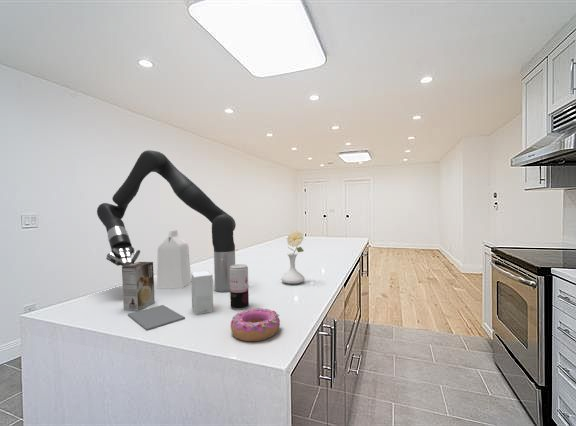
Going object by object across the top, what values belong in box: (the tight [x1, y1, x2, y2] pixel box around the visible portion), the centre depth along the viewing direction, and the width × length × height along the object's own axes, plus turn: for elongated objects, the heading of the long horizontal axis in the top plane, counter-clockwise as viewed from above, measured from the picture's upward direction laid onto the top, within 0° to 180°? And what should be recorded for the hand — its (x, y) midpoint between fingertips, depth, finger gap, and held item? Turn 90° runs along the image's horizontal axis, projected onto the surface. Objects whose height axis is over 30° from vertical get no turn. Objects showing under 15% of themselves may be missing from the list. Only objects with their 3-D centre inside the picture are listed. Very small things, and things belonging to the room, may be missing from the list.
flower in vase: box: [280, 230, 306, 285], centre depth 135 cm, size 13×11×25 cm
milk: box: [156, 229, 192, 290], centre depth 135 cm, size 12×12×26 cm
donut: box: [230, 307, 281, 342], centre depth 83 cm, size 14×14×5 cm
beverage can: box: [229, 263, 250, 311], centre depth 103 cm, size 7×6×15 cm
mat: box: [127, 304, 186, 331], centre depth 95 cm, size 18×12×1 cm, turn 46°
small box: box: [190, 270, 214, 315], centre depth 101 cm, size 8×6×13 cm
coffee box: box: [121, 261, 155, 312], centre depth 106 cm, size 9×6×16 cm
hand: (129, 271), depth 114 cm, fingers closed
